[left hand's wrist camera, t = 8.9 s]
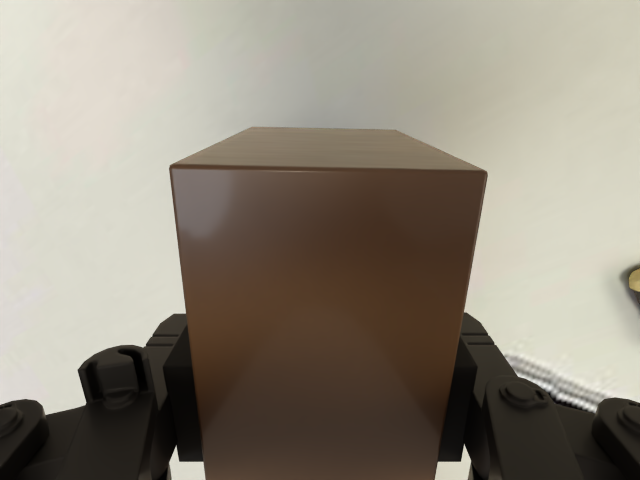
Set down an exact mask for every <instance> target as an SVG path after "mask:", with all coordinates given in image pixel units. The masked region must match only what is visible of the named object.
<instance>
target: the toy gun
mask: <svg viewBox="0 0 640 480" xmlns="http://www.w3.org/2000/svg"><path fill="white" fill-rule="evenodd" d="M629 287H630V288H631V289H633V290H634V293H635V295H636V298H637V300H638V302H639V304H640V269H637V270H635V271H633V272H632V273H631V275H630V277H629Z"/></svg>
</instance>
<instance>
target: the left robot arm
mask: <svg viewBox="0 0 640 480" xmlns="http://www.w3.org/2000/svg"><path fill="white" fill-rule="evenodd" d="M78 373H79V377H80V381H81V384H82V388H83V391H84V395H85V399H86V402H87V403H86V405H85V406H82V407H78V408H75V409H70V410H66V411H62V412H57V413H53V414H49V415H45V412H44V409H43V406H42V405H41V404H40V403H38V402H37V401H35V400H28V399H23V400H16V401H11V402H8V403H5V404H2V405H0V480H171V471H170V465H169V461H170V459H171V456H172V454H173V452H174V449H175V447H176V445H177V451H178V457H179V462H204V461H203V452H202V444H201V435H200V427H199V418H198V410H197V401H196V393H195V384H194V376H193V367H192V359H191V350H190V342H189V333H188V325H187V316H186V314H173V315H172V316H170V317H169V318H167V319H166V320H165V321H163V322H162V323H160V325H159V326H158V328H157V329H156V331H155V332H154V333H153V336H152V337H151V338H150V339H149V341H148V342H147V344H146V347H144V348H142V347H139V346H135V345H120V346H116V347H112V348H108V349H105V350H103V351H101V352H99V353H96V354H94V355H93V356H92V357H90V358H89V359H87V360H86V361H85V362H84V363H83V364H82V365H81V367H80V368H79V369H78ZM464 444H465V447H466V449H467V451H468V454H469V456H470V459H471V465H470V471H469V476H468V480H640V403H638V402H635V401H632V400H629V399H622V398H609V399H604V400H603V401H602V402H601V403H599V404H598V407H597V410H596V413H595V414H594V413H590V412H586V411H581V410H577V409H573V408H568V407H564V406H561V405H557V404H554V402H553V401H552V399H551V398H550V396H549V395H548V393H547V392H546V391H544V390H543V389H542V388H541V387H539V386H538V385H537V384H535V383H533V382H531V381H529V380H527V379H524V378H520V377H518V376H517V375H516V373H515V372H514V370H513V369H512V367H511V366H510V364H509V363H508V362H507V360H506V359H505V357H504V356H503V354H502V353H501V352H500V350H499V349H498V347H497V346H496V345H494V341H493V340H492V339H491V337H490V336H488V333H487V331H486V330H485V329H484V327H483V326H482V324H481V323H480V322H479V321H478V320H476V319H475V318H473V317H472V316H471V315H469V314H468V313H464V314H463V319H462V325H461V331H460V337H459V342H458V348H457V354H456V359H455V365H454V371H453V377H452V382H451V388H450V394H449V400H448V405H447V411H446V417H445V423H444V428H443V434H442V440H441V445H440V451H439V457H438V462H461V458H462V452H463V447H464Z"/></svg>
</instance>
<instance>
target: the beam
mask: <svg viewBox="0 0 640 480" xmlns="http://www.w3.org/2000/svg"><path fill="white" fill-rule="evenodd" d="M169 171H170V180H171V188H172V197H173V205H174V214H175V222H176V231H177V239H178V248H179V256H180V265H181V273H182V282H183V290H184V299H185V308H186V316H187V325H188V333H189V342H190V350H191V359H192V367H193V376H194V384H195V393H196V401H197V410H198V418H199V427H200V435H201V444H202V452H203V461H204V470H205V478H206V480H435V474H436V468H437V463H438V457H439V451H440V445H441V440H442V434H443V428H444V423H445V417H446V411H447V405H448V400H449V394H450V388H451V382H452V377H453V371H454V365H455V359H456V354H457V348H458V342H459V337H460V331H461V325H462V319H463V314H464V308H465V302H466V296H467V291H468V285H469V279H470V273H471V268H472V262H473V256H474V251H475V245H476V239H477V233H478V228H479V222H480V216H481V210H482V205H483V199H484V193H485V187H486V182H487V176H488V174H487V171H485V170H483V169H480V168H478V167H476V166H474V165H472V164H469V163H467V162H465V161H463V160H461V159H458V158H456V157H454V156H452V155H450V154H448V153H445V152H443V151H441V150H439V149H437V148H434V147H432V146H430V145H428V144H426V143H423V142H421V141H419V140H417V139H415V138H412V137H410V136H408V135H406V134H404V133H401V132H399V131H397V130H378V129H331V128H283V127H251V128H249V129H246V130H244V131H242V132H240V133H238V134H236V135H234V136H231V137H229V138H227V139H225V140H223V141H221V142H219V143H216V144H214V145H212V146H210V147H208V148H206V149H203V150H201V151H199V152H197V153H195V154H193V155H191V156H188V157H186V158H184V159H182V160H180V161H178V162H176V163H173V164H171V165H170V167H169Z"/></svg>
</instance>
